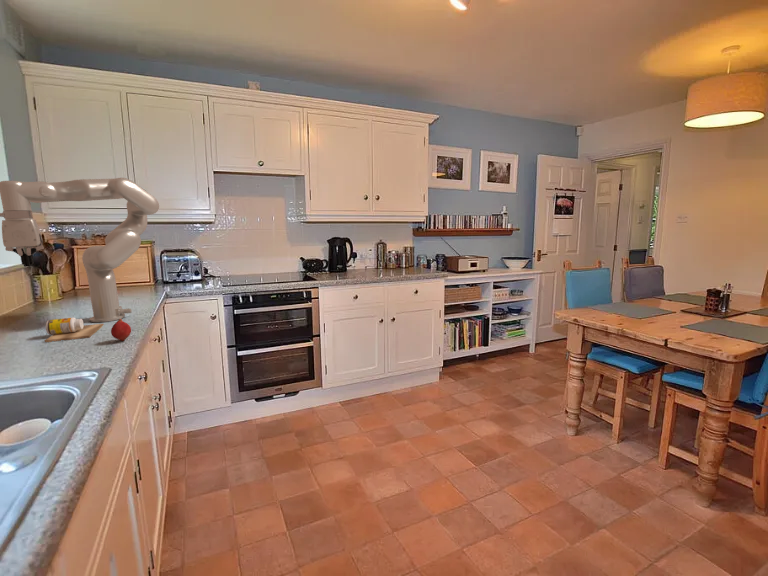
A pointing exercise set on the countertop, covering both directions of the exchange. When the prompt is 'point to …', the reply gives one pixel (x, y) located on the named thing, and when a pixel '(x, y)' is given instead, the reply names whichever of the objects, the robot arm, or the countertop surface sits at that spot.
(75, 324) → the supplement bottle
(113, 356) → the countertop surface
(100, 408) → the countertop surface
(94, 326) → the wooden cutting board
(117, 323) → the onion
